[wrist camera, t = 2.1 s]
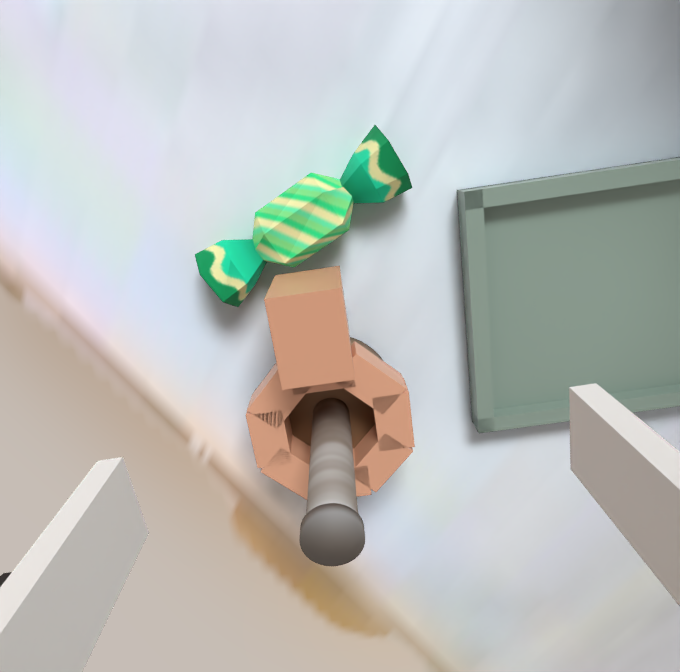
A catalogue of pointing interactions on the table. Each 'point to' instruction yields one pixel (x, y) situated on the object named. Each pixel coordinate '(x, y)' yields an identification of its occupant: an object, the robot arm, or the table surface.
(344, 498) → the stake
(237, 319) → the table surface
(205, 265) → the candy
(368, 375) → the ring
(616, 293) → the tray
